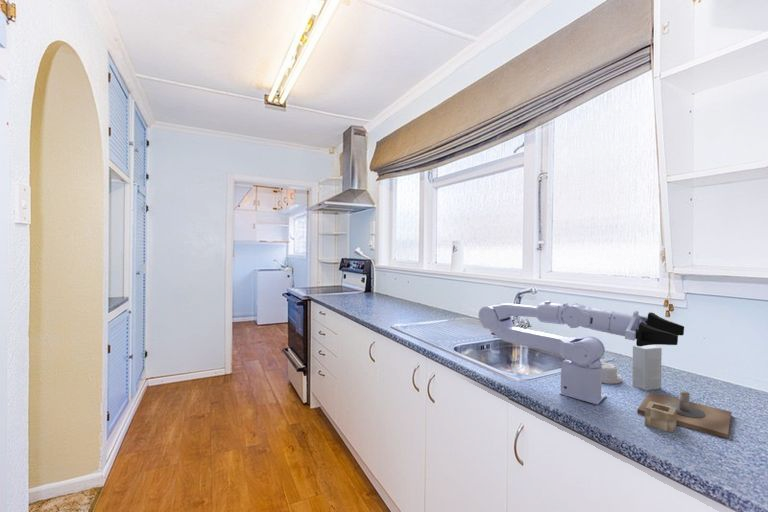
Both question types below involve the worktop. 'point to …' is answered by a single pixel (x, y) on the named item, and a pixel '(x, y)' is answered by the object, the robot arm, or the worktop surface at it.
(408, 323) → the worktop surface
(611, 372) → the mechanical component
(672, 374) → the worktop surface
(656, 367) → the skincare box
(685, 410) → the post board
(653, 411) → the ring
